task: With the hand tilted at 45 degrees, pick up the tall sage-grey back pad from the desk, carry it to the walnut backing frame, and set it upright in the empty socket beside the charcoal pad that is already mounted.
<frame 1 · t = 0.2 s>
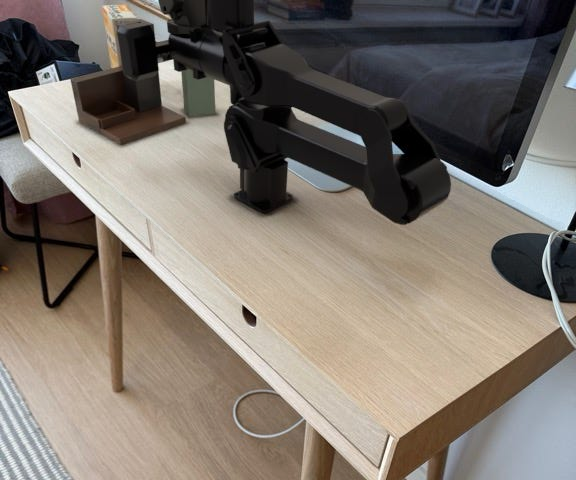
hand: (144, 28, 83), 17 cm above the table, tool horizontal, fingers open, 9 cm apart
backing frame: (133, 122, 100), on the table
supplement box: (129, 89, 110), on the table
back pad: (199, 112, 105), on the table
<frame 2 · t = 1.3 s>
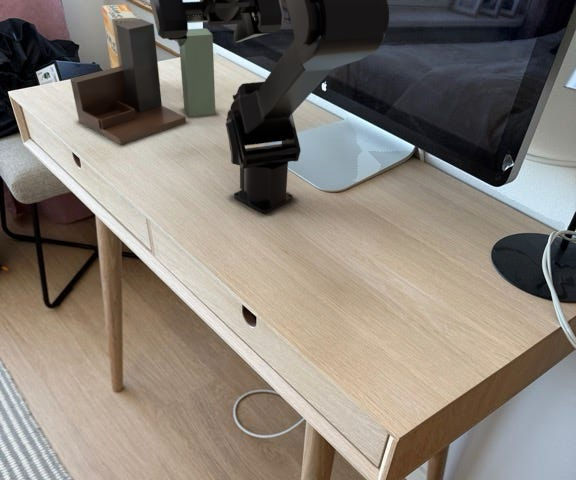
hand: (207, 41, 89), 14 cm above the table, tool tilted 45°, fingers open, 9 cm apart
nothing on the table moved.
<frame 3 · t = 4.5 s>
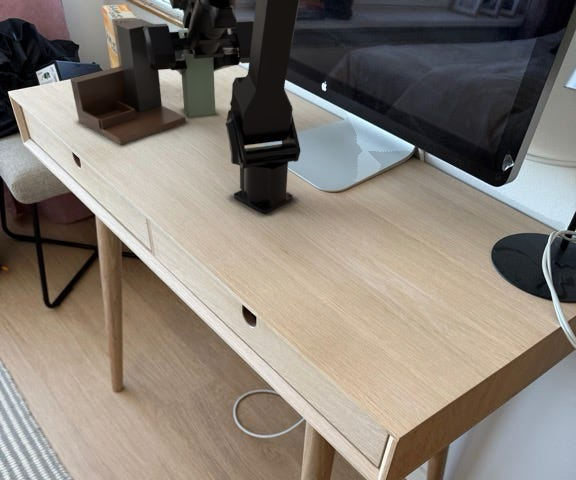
hand: (195, 70, 101), 7 cm above the table, tool tilted 45°, fingers closed on back pad, 5 cm apart
back pad: (199, 111, 105), on the table, touching gripper
everything else where it was.
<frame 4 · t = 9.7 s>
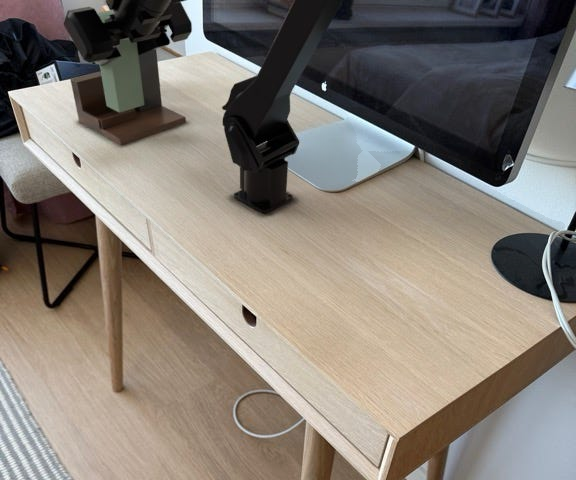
hand: (114, 59, 89), 11 cm above the table, tool tilted 45°, fingers closed on back pad, 5 cm apart
back pad: (125, 105, 93), point 5 cm above the table, touching gripper
everything else where it was.
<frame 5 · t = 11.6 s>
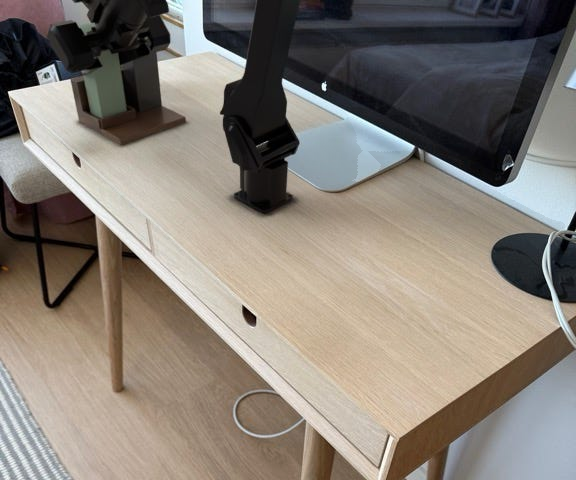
hand: (97, 68, 93), 9 cm above the table, tool tilted 45°, fingers closed on back pad, 5 cm apart
back pad: (108, 112, 97), point 2 cm above the table, touching gripper
everything else where it was.
when the fingers open (9 cm above the table, at t = 15.1 s): back pad drops 1 cm, resting on backing frame.
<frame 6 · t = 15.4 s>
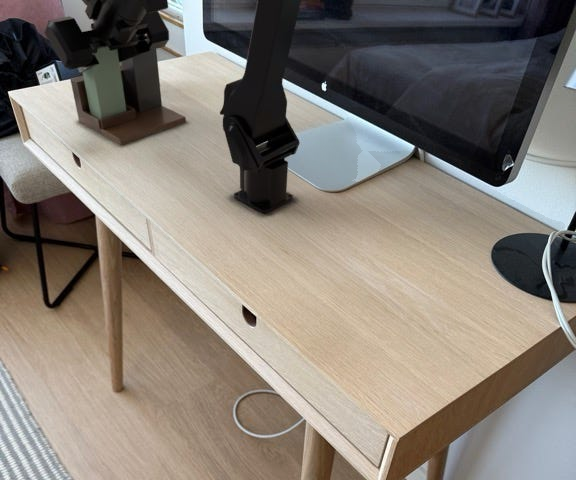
hand: (95, 66, 93), 9 cm above the table, tool tilted 45°, fingers open, 6 cm apart
back pad: (109, 118, 98), point 1 cm above the table, touching backing frame, gripper
everything else where it was.
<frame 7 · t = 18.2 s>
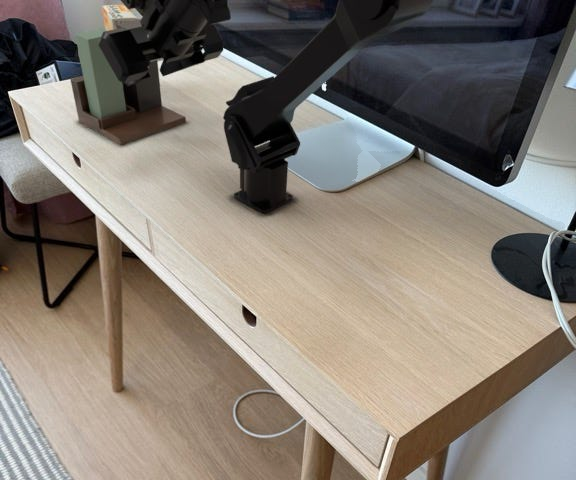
hand: (144, 77, 88), 10 cm above the table, tool tilted 45°, fingers open, 6 cm apart
back pad: (109, 118, 98), point 1 cm above the table, touching backing frame
everything else where it was.
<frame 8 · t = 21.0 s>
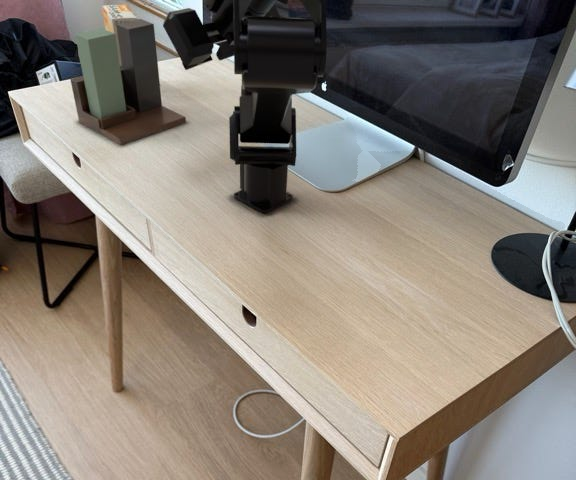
hand: (201, 61, 87), 13 cm above the table, tool tilted 45°, fingers open, 6 cm apart
nothing on the table moved.
at the end: back pad 0.1 cm from the target spot on the backing frame, point 1.0 cm above the backing frame's base; back pad tilted 0°; the gripper is holding nothing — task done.
